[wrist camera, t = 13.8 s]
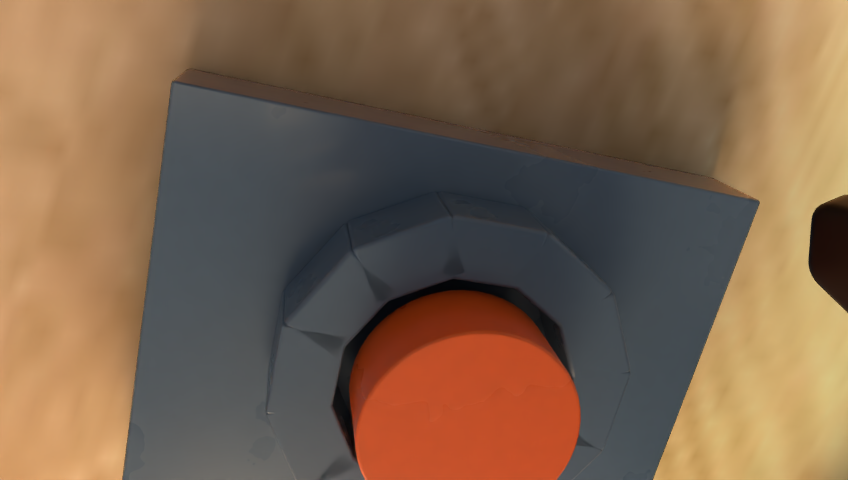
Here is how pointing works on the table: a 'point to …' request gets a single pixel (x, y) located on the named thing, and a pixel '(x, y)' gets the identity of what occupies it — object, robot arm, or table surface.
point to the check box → (403, 276)
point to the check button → (461, 394)
